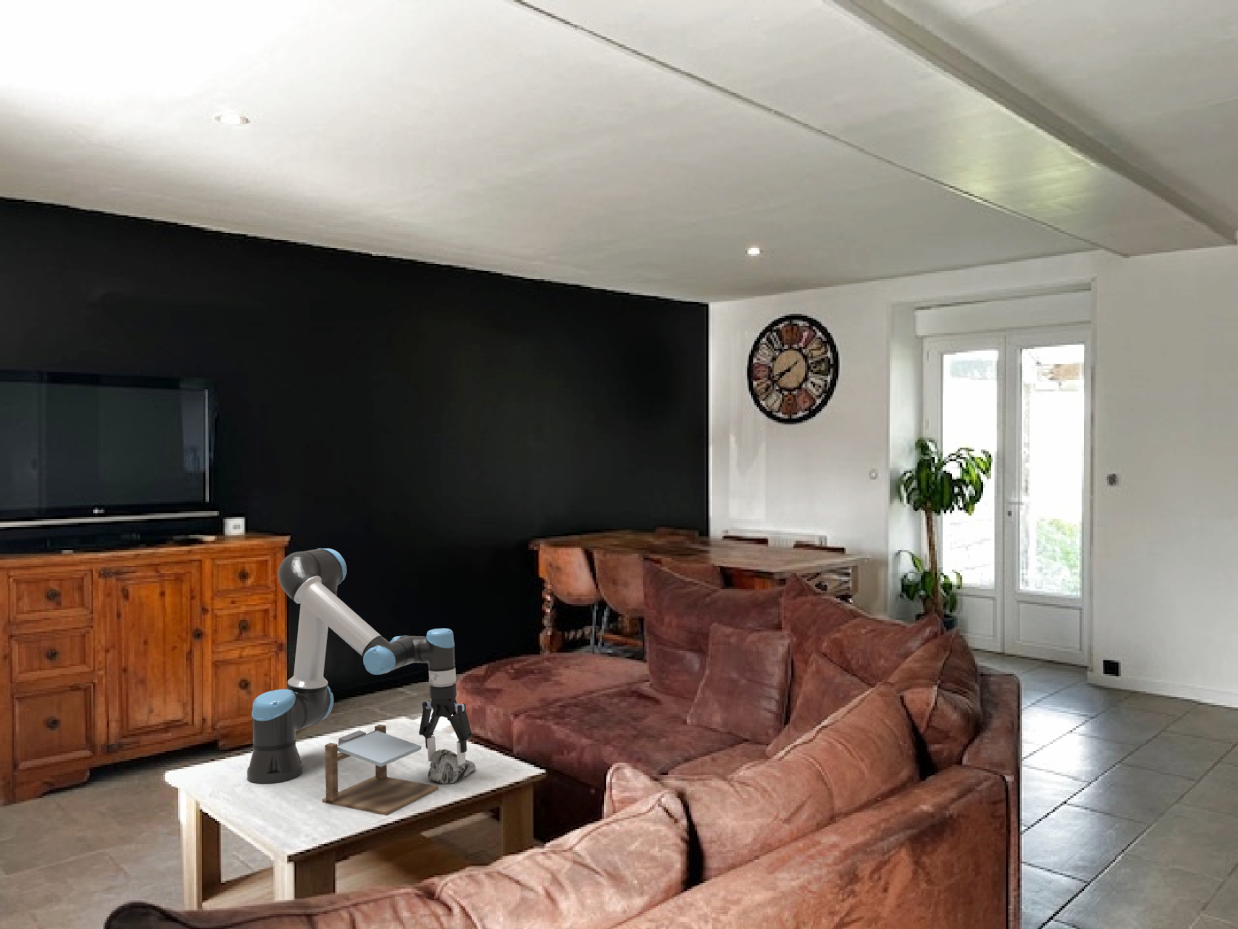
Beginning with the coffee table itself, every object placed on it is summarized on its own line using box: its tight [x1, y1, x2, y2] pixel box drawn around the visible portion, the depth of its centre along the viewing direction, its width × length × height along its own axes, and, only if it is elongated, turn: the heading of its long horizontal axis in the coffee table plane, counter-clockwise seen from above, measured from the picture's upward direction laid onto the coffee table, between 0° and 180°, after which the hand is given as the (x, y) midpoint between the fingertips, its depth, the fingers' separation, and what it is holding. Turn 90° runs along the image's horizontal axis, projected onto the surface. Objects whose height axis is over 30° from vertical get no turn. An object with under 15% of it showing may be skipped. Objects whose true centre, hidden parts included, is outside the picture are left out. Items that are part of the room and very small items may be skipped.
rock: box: [427, 748, 476, 785], centre depth 267 cm, size 15×10×7 cm
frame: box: [321, 724, 439, 816], centre depth 252 cm, size 22×21×15 cm
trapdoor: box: [337, 729, 422, 767], centre depth 253 cm, size 19×17×2 cm
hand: (446, 761), depth 266 cm, fingers open, 10 cm apart
